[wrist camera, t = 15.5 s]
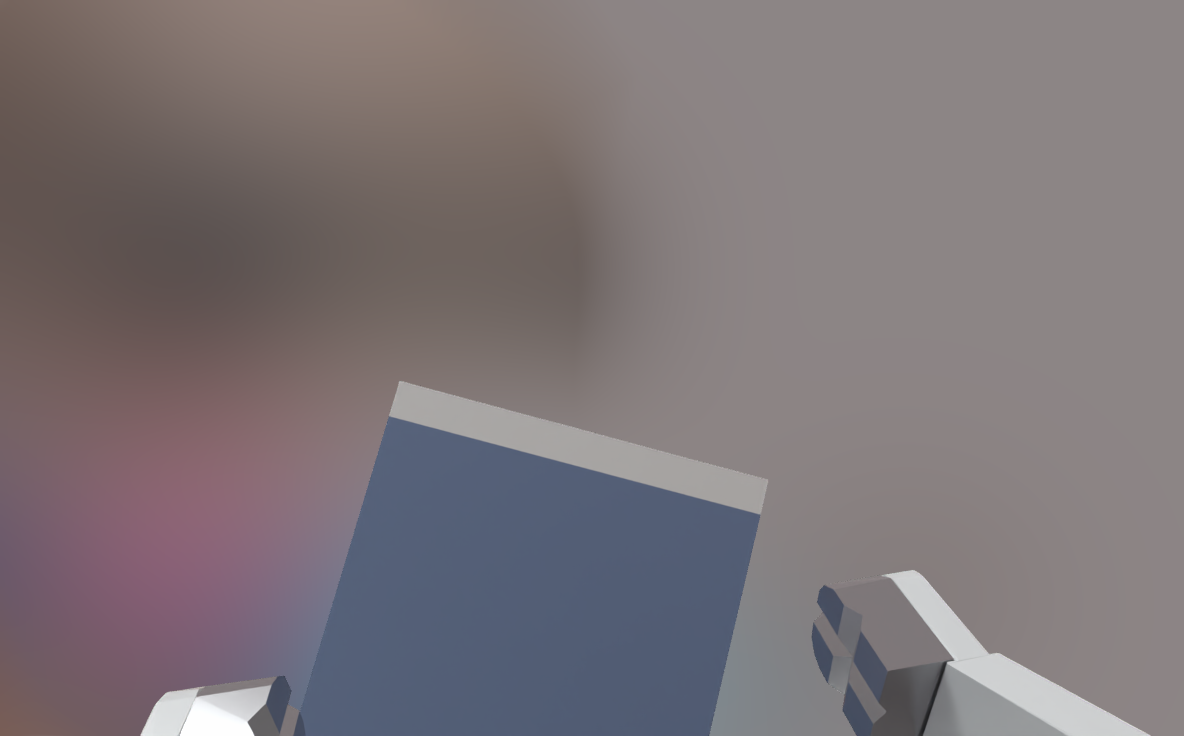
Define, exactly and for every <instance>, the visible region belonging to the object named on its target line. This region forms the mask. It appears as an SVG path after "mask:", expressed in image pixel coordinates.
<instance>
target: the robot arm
mask: <svg viewBox="0 0 1184 736" xmlns="http://www.w3.org/2000/svg"><path fill="white" fill-rule="evenodd" d="M817 603H818V604H819V606H820V608H821V609H822V611H823V613H822V614H821V615H820V616H819V617H818V618H817V619H816V620H815V621H814V623H813V631H812V641H813V648H814V653H815V657H816V660H817V662H818V665H819V668H820V670H821V672H822V674H823V676H824V677H825V679H826V681H827V683H828V684H829V685H831V686H832V687H833V688H835V689H836V690H838V691H840V692H841V693H842V694H844V703H843V712H844V714H845V716H846V717H847V719H848V721H849V723H850V724H851V726H852V728H853V730H854V732H855V733H856V735H857V736H1150V735H1148V734H1147V733H1145V732H1143V731H1141V730H1139V729H1137V728H1135V727H1134V726H1132V725H1130V724H1128V723H1126V722H1124V721H1123V720H1121V719H1119V718H1117V717H1115V716H1113V715H1111V714H1110V713H1108V712H1106V711H1104V710H1102V709H1100V708H1099V707H1097V706H1095V705H1093V704H1091V703H1090V702H1088V701H1086V700H1084V699H1082V698H1080V697H1079V696H1077V695H1075V694H1073V693H1071V692H1069V691H1068V690H1065V689H1064V688H1062V687H1060V686H1058V685H1056V684H1055V683H1053V682H1051V681H1049V680H1047V679H1045V678H1044V677H1042V676H1040V675H1038V674H1036V673H1034V672H1033V671H1031V670H1029V669H1027V668H1025V667H1023V666H1022V665H1019V664H1018V663H1016V662H1014V661H1012V660H1011V659H1009V658H1007V657H1005V656H1003V655H1001V654H999V653H994V654H989V653H988V652H987V651H986V650H985V649H984V647H983V646H982V645H981V644H980V643H979V642H978V641H977V639H976V638H975V637H974V636H973V635H972V633H971V632H970V631H969V630H968V629H967V628H966V626H965V625H964V624H963V623H962V622H961V620H960V619H959V618H958V617H957V616H956V615H955V613H954V612H953V611H952V610H951V609H950V608H949V606H948V605H947V604H946V603H945V602H944V601H943V599H942V598H941V597H940V596H939V595H938V594H937V592H936V591H935V590H934V589H933V588H932V586H931V585H930V584H929V583H928V582H927V580H926V579H925V578H924V577H923V576H922V575H921V574H919V573H918V572H916V571H914V570H911V571H905V572H899V573H893V574H887V575H883V576H881V575H877V576H871V577H866V578H860V579H855V580H849V581H844V582H839V583H832V584H827V585H824V586H823V587H822V588H821V589H820V591H819V596H818V601H817ZM290 694H291V689H290V687H289V685H288V682H287V680H286V678H285V676H278V677H270V678H263V679H255V680H248V681H241V682H234V683H227V684H219V685H212V686H205V687H199V688H193V689H186V690H180V691H173V692H167V693H166V694H165V695H164V696H163V697H162V698H161V699H160V700H159V701H158V702H157V703H156V705H155V706H154V708H153V710H152V712H151V714H150V716H149V718H148V721H147V723H146V725H145V727H144V729H143V731H142V733H141V735H140V736H306V734H305V728H304V722H303V719H302V716H301V714H300V712H299V710H297V709H295V708H293V707H291V706H290V705H288V701H289V698H290Z"/></svg>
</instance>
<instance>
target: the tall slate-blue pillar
mask: <svg viewBox="0 0 1184 736" xmlns="http://www.w3.org/2000/svg"><path fill="white" fill-rule="evenodd" d="M767 484H768V480H767V479H763V478H759V477H756V476H752V475H748V474H745V473H741V472H737V471H733V470H729V469H726V468H722V467H718V466H715V465H711V464H707V463H704V462H700V461H696V460H693V459H689V458H685V457H682V456H678V455H674V454H670V453H667V452H663V451H659V450H655V449H652V448H648V447H644V446H641V445H637V444H633V443H629V442H625V441H622V440H618V439H614V438H611V437H607V436H603V435H600V434H596V433H592V432H588V431H584V430H581V429H577V428H573V427H569V426H566V425H562V424H558V423H555V422H551V421H547V420H544V419H540V418H536V417H532V416H528V415H525V414H521V413H518V412H514V411H510V410H507V409H503V408H498V407H495V406H492V405H488V404H484V403H480V402H477V401H473V400H469V399H465V398H462V397H458V396H454V395H450V394H447V393H443V392H439V391H436V390H432V389H428V388H424V387H421V386H417V385H413V384H410V383H406V382H402V381H400V382H399V385H398V388H397V392H396V395H395V398H394V402H393V405H392V408H391V412H390V415H389V418H388V421H387V425H386V428H385V431H384V435H383V438H382V441H381V445H380V448H379V451H378V455H377V458H376V461H375V465H374V468H373V472H372V475H371V478H370V481H369V485H368V488H367V491H366V495H365V498H364V502H363V505H362V508H361V511H360V514H359V518H358V521H357V525H356V528H355V531H354V535H353V538H352V541H351V544H350V548H349V551H348V555H347V558H346V561H345V564H344V568H343V571H342V574H341V578H340V581H339V584H338V588H337V591H336V594H335V598H334V601H333V604H332V608H331V611H330V614H329V618H328V621H327V624H326V628H325V631H324V634H323V637H322V641H321V644H320V648H319V651H318V654H317V657H316V661H315V664H314V667H313V671H312V674H311V677H310V681H309V684H308V687H307V691H306V694H305V697H304V701H303V704H302V707H301V711H300V714H301V716H302V719H303V722H304V728H305V734H306V736H709V734H710V729H711V725H712V721H713V716H714V712H715V708H716V704H717V699H718V695H719V691H720V686H721V682H722V677H723V673H724V669H725V665H726V660H727V656H728V652H729V647H730V643H731V639H732V635H733V630H734V626H735V621H736V618H737V613H738V609H739V605H740V600H741V596H742V591H743V587H744V583H745V579H746V575H747V570H748V566H749V562H750V557H751V553H752V549H753V544H754V540H755V536H756V532H757V527H758V523H759V518H760V514H761V510H762V506H763V501H764V497H765V493H766V488H767Z"/></svg>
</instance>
